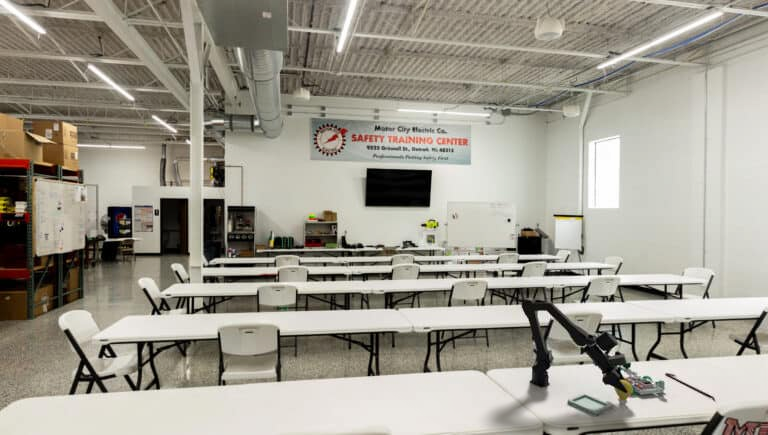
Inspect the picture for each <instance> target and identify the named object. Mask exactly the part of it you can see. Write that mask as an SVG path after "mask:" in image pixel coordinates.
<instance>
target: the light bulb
mask: <svg viewBox="0 0 768 435" xmlns="http://www.w3.org/2000/svg"><path fill="white" fill-rule="evenodd" d="M620 381H621V382H622V384H623V385H624V386H625V388H626V389H627V391H628V392H627V393H624V392H622V391H621V390H619V389H617V388H615V387H613V388H614V390H615V393H616V395H617V396H618V397H617V400H618V403H619V405H621V406H626V404H627V403H628V398H630V396H631V395H632V394H631V393H632V391H633V389H632V386H631V384H630V383H629V382H627V381H625V380H620Z"/></svg>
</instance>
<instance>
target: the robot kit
mask: <svg viewBox="0 0 768 435" xmlns="http://www.w3.org/2000/svg"><path fill="white" fill-rule="evenodd" d="M626 361H627V364H626V365H620V366H621V371H624V373H625V374H626V375H628V376H627V377H626V376H623V377H624V379H625V380H626V381H627V382H629V383H630V384H631V386H632V389H633V391H632V393H631V395H633V394H636V393H638V394H639V395H640V396H642V395H649V394H660V393H661V394H662V393H664V391H665V389H666V388H665V386H666V385H665V384H666V383H665V380H662V379H661V380H658V381H653V379H652V377H651V376H649V375H643V376H641V375H639V376H638V372H637V371H636V372H635V371H634V370H633V369H632V370H631V367H632V366H631V365H632V363H631V361H629V360H626ZM620 366H617V367H620Z"/></svg>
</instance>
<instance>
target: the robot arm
mask: <svg viewBox="0 0 768 435" xmlns="http://www.w3.org/2000/svg"><path fill="white" fill-rule="evenodd" d="M521 310H522V312H523V313H524V315H525V317H526V318H527V319H528V323H529V327H530V330H531V335H532V337H533V342H534V345H535V348H536V349H535V350H536V356H535V357H536V361H535V362H534V363H533V365H532V366H531V380H529V383H530V384H533V385H535V386H538V387H540V388H543V387H547V386H550V382H549V377H550V376H549V372H548V370H550V369H551V366H552V365H553V363H554V359H555V357H554V356H553V351H552V349H550V350H549V349H548V348H547V346H546V342H545V338H544V336H543V331H542V328H541V324H540V320H539V317H538V315H539V311H542V312H547V313H548V314H549V315H550V316H551V317H552V318H553V319H555V321H557V323H558V324H560V326H561V327H562V328H563V329H564V330H566V332H567V333H568V335H569V337H570V338H571V340H572V342H574V344H575V345H576V346H578V347H580V348H579V349H580V355H583V354H585V353H586V355H587V356H588V358H590V360H591V361H593V363H594V366H595V367H597V368H599V369H600V371H601V374H602V380H601V381H602V383H603V384H604V385H605V386H607V385H609V386H611V387H613V388H614V387H615V388H617V389H619V390H621V391H622V392H624V393H627V392H628V391H627V389H626V388H625V386H624V385H623V384H622V382H621V381H620V380H625V379H624V377H625V376H623V373H622V370H621V366H620V365H626V364H627V361H628V360H627V359H626V356H625V354H624V353H622V352H620V350H616V351H615V352H614V354H613V355H612V356H609V354H607V353H606V354H605V353H604V352H609V351H610V350H612V349H613V348H615V347H617V346H618V345H619V342H618V340H617V339H616V338H615V336H614V335H612V334H611V333H609V332H608V331H607V330H605V331H603V332H602V333H601V334H599V335H598V336H597V335H594V334H591V333H588V332H587V331H586V330H584V329H583V328H582V327H581V326H578V325H577V324H576V323H574V322H572V320H571V319H569V317H567V315H565V313H563V312H562V311H561V310H560V309H559V308H558V307H557V306H556V305H555V304H554V302H553V301H552V300H542V299H535V298H533V297H527V298H526V299H524V300H523V301H522V302H521ZM617 366H620V367H617ZM625 381H626V380H625Z"/></svg>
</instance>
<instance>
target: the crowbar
mask: <svg viewBox="0 0 768 435" xmlns="http://www.w3.org/2000/svg"><path fill="white" fill-rule="evenodd" d="M664 375H665V376H666V377H667V376H668V377H667V378H669V377H670V379H671V378H672V380H673V379H674V380H673V381H675V380H676V381H675V382H677V381H678V383H679V382H680V383H679V384H682V385H683V384H684V386H686V387H688V388H690V389H692V390H694V391H695V392H698V393H699V394H701V395H704V396H705V397H707V396H708V398H709V397H710V398H709V399H711V398H712V399H711V400H713V402H714V401H715V400H716V399H715V396H713V395H711V394H709V393H707V392H704V391H702V390H700V389H698V388H696V387H695V386H692V385H691V384H689V383H686V382H684V381H683V380H680V379H678V378H677V375H675V374H673V373H669V372H666V373H664ZM671 375H672V376H671ZM674 376H675V377H674Z"/></svg>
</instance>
